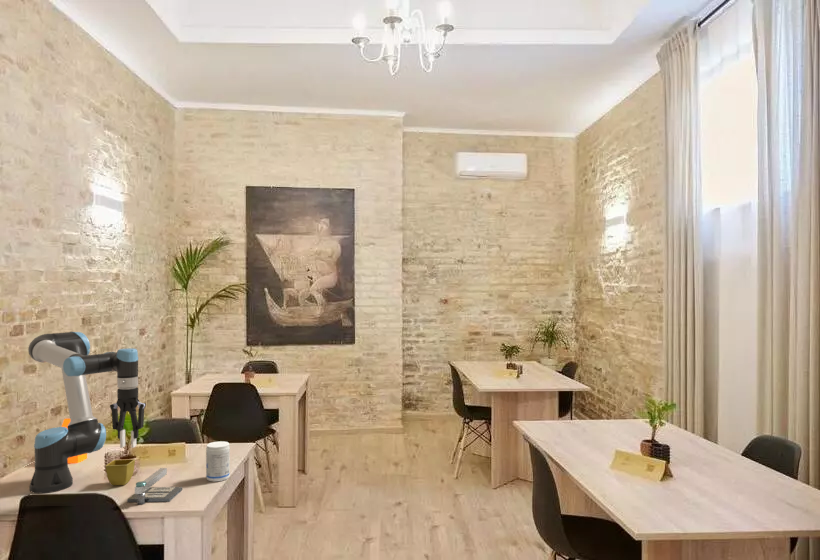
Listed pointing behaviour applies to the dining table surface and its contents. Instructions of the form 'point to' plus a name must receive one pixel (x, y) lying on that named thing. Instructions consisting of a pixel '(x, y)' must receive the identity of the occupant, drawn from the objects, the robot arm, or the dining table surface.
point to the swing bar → (150, 481)
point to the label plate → (158, 494)
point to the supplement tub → (217, 461)
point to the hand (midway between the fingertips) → (128, 446)
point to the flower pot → (120, 471)
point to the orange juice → (76, 458)
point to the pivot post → (141, 499)
